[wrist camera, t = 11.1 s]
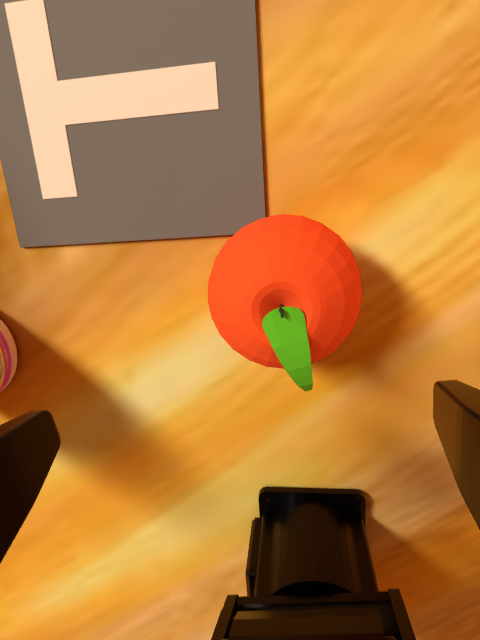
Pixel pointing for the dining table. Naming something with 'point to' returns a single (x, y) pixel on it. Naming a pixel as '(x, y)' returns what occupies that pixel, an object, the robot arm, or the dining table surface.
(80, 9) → the letter tile
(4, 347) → the supplement bottle
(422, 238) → the dining table surface
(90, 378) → the dining table surface
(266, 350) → the clementine
